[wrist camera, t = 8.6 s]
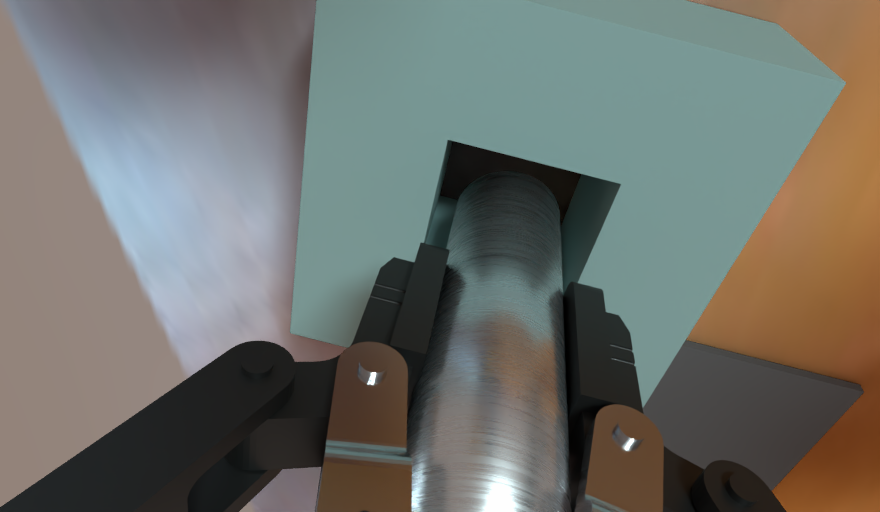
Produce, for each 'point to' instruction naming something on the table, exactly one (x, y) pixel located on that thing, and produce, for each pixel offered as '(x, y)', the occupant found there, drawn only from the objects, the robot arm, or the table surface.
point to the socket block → (552, 144)
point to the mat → (744, 410)
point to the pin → (495, 360)
